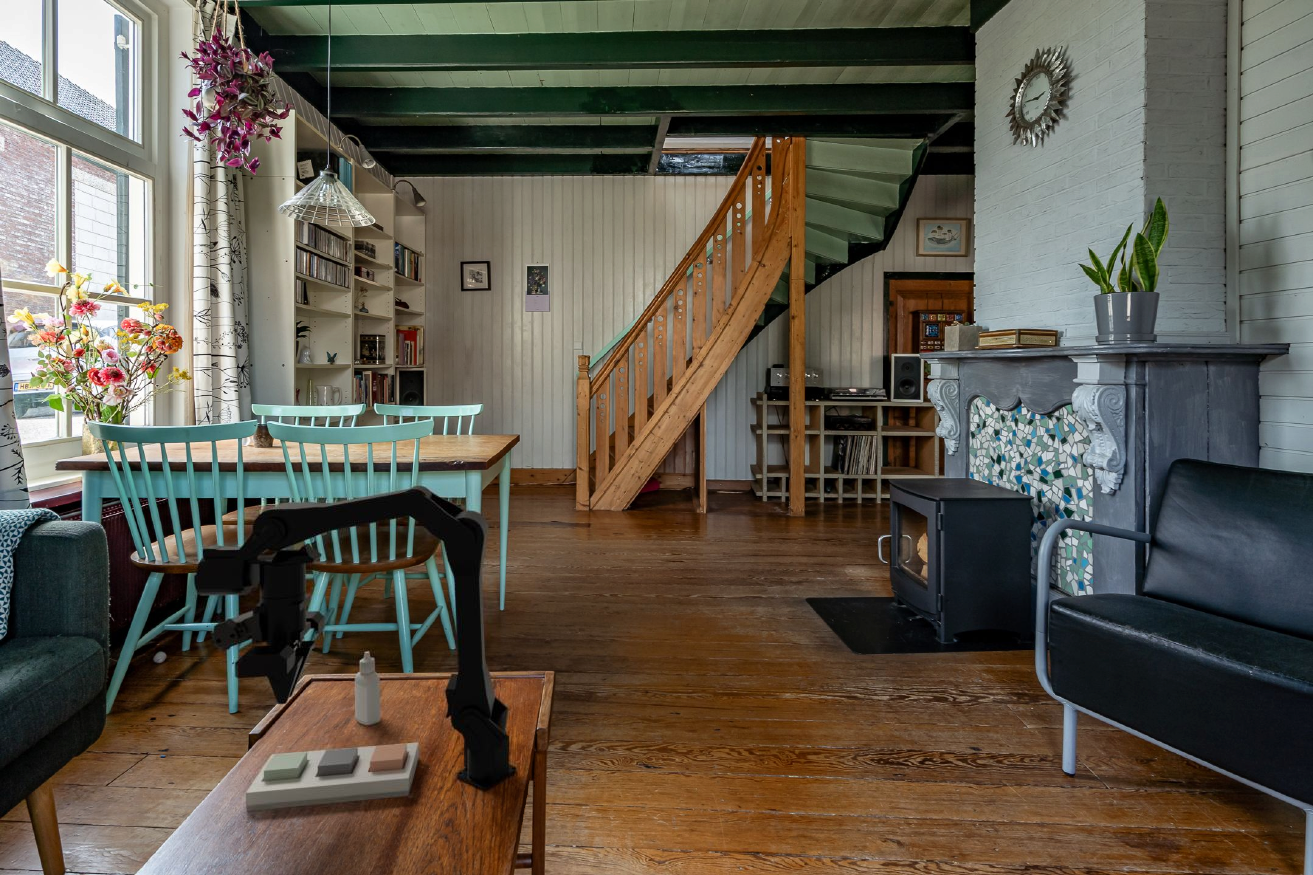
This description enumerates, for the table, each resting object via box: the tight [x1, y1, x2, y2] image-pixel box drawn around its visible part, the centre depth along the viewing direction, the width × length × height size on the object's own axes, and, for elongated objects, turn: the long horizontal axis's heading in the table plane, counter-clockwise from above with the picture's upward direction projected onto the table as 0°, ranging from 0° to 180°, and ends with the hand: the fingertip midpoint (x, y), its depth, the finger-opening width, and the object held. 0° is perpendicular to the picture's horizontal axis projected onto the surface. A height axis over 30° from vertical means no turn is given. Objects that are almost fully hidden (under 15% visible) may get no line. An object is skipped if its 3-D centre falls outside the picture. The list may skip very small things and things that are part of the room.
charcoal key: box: [318, 747, 358, 777], centre depth 99 cm, size 4×4×2 cm
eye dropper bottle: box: [354, 651, 381, 726], centre depth 118 cm, size 4×6×12 cm
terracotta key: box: [370, 743, 407, 772], centre depth 101 cm, size 4×4×2 cm
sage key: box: [264, 751, 307, 781], centre depth 98 cm, size 4×4×2 cm
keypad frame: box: [245, 742, 420, 812], centre depth 99 cm, size 21×10×3 cm, turn 102°
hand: (284, 700), depth 97 cm, fingers closed
